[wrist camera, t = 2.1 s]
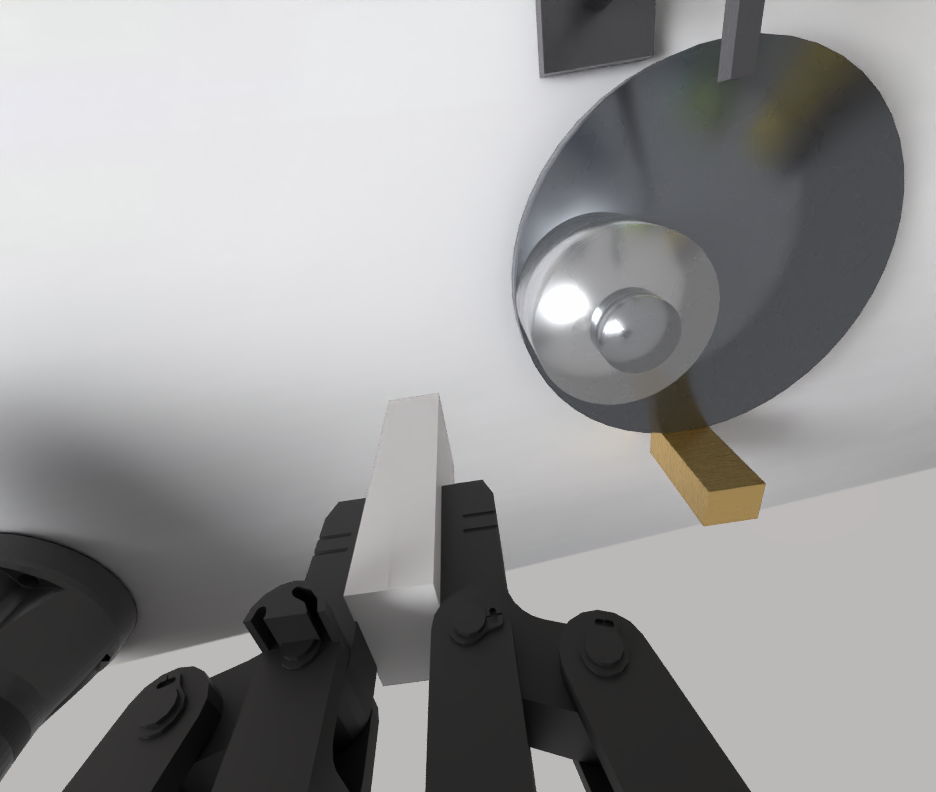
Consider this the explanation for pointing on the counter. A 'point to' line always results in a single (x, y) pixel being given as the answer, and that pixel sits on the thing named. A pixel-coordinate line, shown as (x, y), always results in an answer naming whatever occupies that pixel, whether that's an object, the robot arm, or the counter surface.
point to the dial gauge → (633, 35)
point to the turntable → (736, 230)
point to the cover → (616, 306)
